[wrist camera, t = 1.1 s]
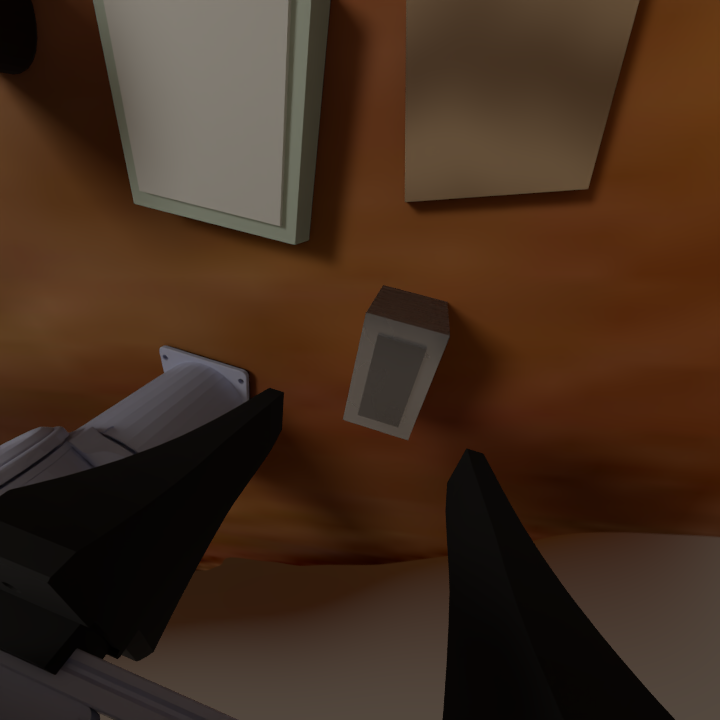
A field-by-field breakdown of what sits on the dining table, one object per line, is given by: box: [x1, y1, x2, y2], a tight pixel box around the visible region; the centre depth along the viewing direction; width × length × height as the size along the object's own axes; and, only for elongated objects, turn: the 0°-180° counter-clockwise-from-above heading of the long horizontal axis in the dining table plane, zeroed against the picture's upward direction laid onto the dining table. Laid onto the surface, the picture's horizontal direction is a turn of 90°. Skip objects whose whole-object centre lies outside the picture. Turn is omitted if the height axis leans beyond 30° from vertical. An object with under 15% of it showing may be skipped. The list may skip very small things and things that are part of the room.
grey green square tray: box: [93, 0, 331, 245], centre depth 14 cm, size 10×10×2 cm
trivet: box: [405, 0, 639, 202], centre depth 12 cm, size 8×8×1 cm
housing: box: [343, 285, 450, 440], centre depth 17 cm, size 7×4×5 cm, turn 169°
